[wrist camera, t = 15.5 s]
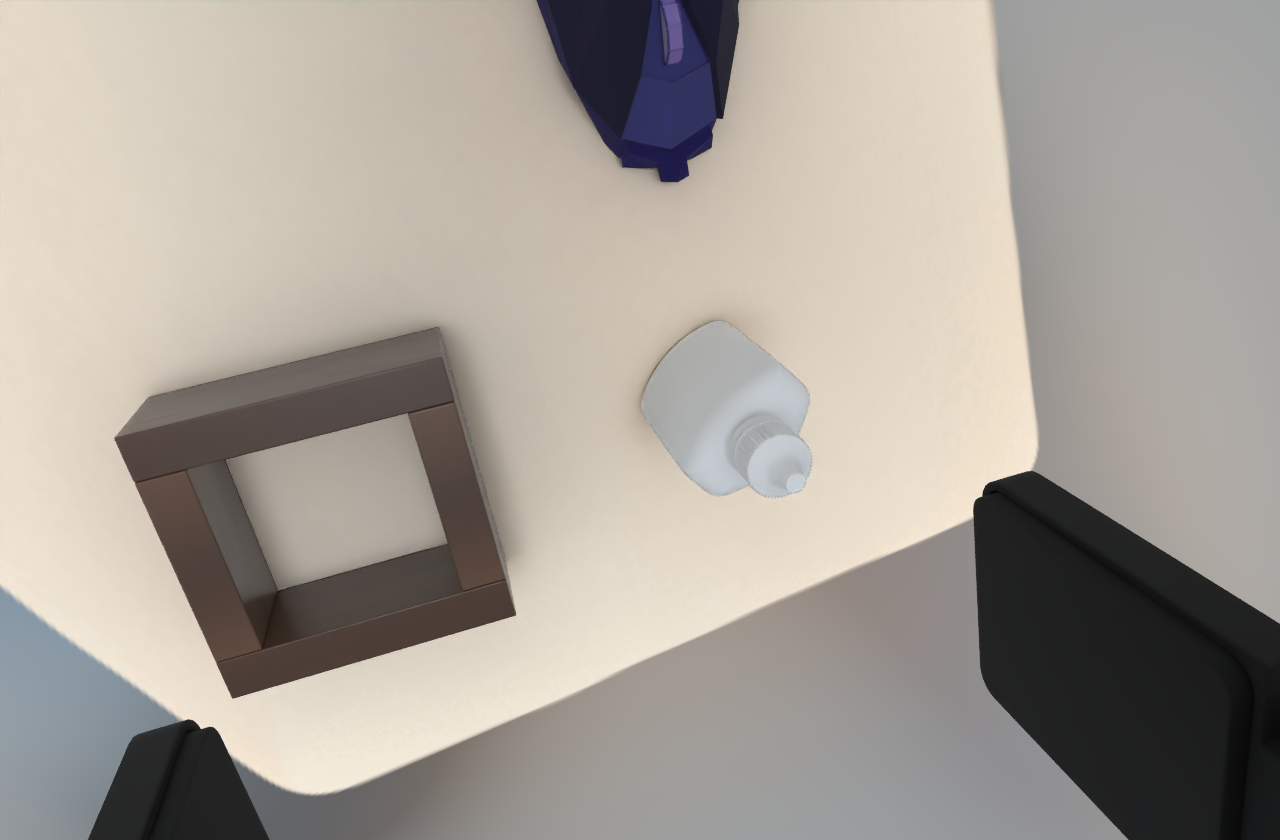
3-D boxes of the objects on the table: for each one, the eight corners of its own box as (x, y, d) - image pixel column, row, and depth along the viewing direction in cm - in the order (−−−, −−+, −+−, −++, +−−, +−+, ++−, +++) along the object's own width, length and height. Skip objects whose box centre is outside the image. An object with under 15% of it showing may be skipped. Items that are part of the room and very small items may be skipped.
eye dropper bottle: (761, 394, 42) (885, 506, 31) (649, 439, 41) (735, 569, 30) (736, 308, 40) (859, 393, 29) (619, 354, 39) (699, 458, 28)
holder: (147, 396, 35) (113, 438, 31) (438, 326, 37) (442, 356, 33) (250, 636, 40) (232, 699, 36) (506, 563, 42) (516, 615, 37)
